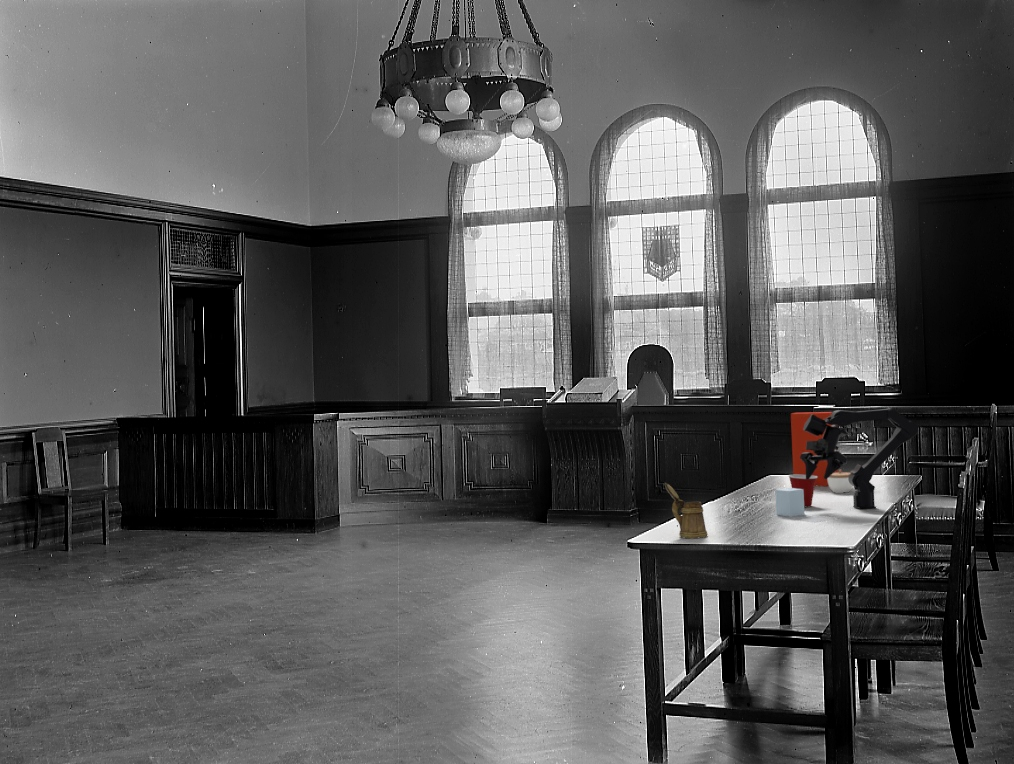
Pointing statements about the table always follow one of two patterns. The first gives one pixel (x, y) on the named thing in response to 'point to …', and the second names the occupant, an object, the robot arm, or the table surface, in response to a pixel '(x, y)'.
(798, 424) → the file binder
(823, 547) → the table surface
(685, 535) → the wooden mug
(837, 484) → the lidded jar
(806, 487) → the plastic cup
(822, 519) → the mat
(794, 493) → the light blue block
